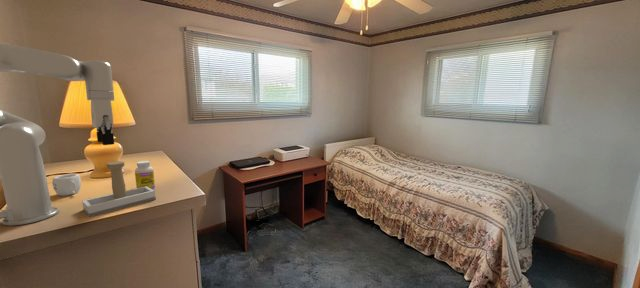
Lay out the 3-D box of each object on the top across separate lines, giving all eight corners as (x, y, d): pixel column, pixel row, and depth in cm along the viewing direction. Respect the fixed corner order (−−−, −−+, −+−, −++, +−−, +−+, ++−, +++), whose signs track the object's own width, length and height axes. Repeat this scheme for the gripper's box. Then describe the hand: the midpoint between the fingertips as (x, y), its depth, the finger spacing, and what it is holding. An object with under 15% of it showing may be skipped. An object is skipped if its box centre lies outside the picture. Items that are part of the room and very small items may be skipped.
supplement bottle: (140, 194, 107) (136, 164, 105) (134, 191, 111) (131, 162, 109) (158, 190, 112) (154, 161, 110) (152, 187, 116) (148, 159, 114)
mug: (51, 195, 106) (47, 177, 105) (77, 189, 114) (74, 172, 112) (63, 200, 101) (60, 181, 100) (90, 193, 108) (87, 175, 107)
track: (89, 216, 86) (87, 207, 85) (83, 209, 92) (81, 200, 91) (155, 199, 101) (154, 190, 101) (147, 194, 107) (146, 186, 107)
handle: (117, 205, 93) (111, 165, 90) (109, 202, 96) (103, 163, 94) (132, 200, 97) (127, 162, 95) (124, 198, 100) (118, 160, 98)
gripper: (83, 96, 95) (88, 141, 97) (90, 95, 84) (96, 147, 86) (109, 97, 100) (113, 140, 103) (119, 96, 89) (124, 144, 92)
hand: (105, 143), depth 94 cm, fingers open, 9 cm apart
